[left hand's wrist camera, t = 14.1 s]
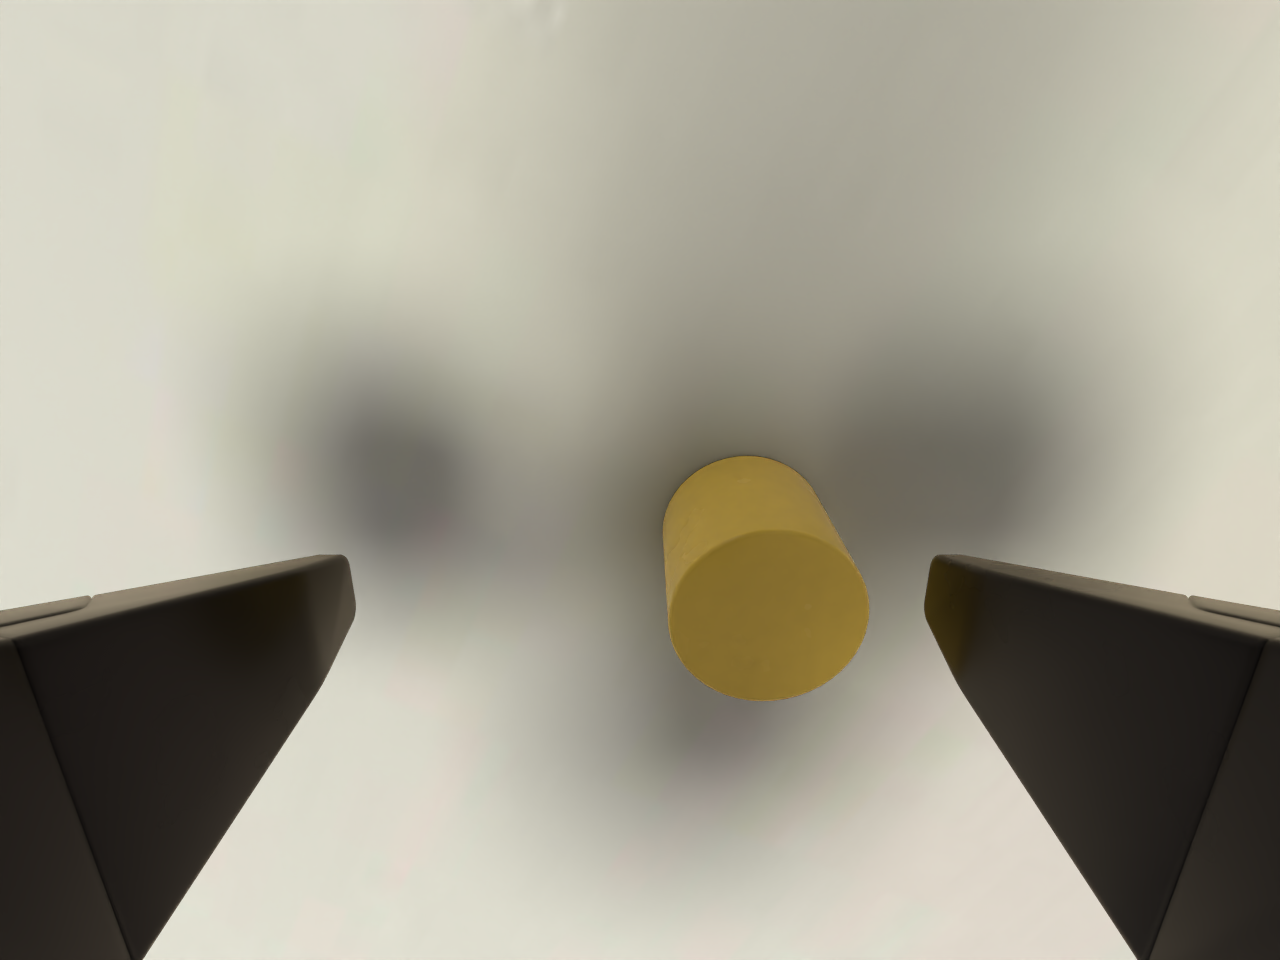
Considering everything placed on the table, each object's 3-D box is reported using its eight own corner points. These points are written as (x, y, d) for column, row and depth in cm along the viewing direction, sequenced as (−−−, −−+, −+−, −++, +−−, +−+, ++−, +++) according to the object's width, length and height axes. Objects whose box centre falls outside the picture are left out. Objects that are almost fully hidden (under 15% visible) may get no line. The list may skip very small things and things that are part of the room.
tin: (765, 422, 17) (800, 491, 13) (852, 543, 18) (907, 637, 14) (630, 515, 18) (627, 603, 14) (721, 624, 19) (741, 733, 15)
